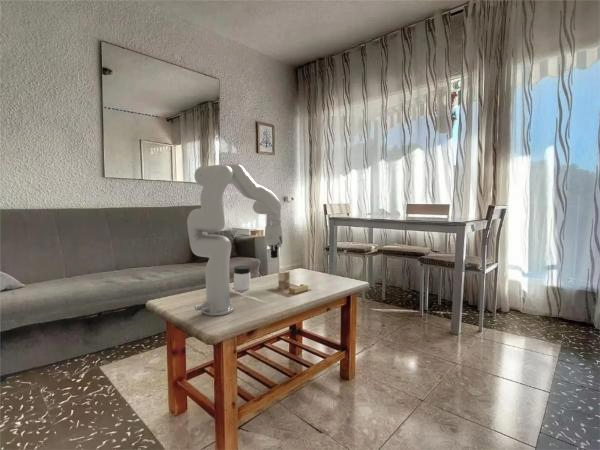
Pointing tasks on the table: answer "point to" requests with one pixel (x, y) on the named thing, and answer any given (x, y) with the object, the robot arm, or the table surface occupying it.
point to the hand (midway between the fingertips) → (274, 257)
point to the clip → (298, 289)
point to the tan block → (284, 279)
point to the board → (285, 291)
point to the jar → (241, 278)
